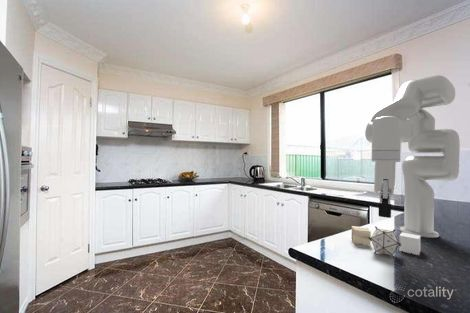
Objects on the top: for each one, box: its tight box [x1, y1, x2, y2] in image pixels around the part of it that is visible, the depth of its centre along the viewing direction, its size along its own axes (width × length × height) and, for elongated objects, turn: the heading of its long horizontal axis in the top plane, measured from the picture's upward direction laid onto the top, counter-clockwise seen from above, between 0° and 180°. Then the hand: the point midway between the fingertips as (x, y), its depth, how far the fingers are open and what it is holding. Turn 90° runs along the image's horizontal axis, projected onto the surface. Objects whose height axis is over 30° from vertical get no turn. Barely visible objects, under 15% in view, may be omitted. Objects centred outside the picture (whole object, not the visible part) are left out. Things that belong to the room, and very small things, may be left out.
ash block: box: [351, 225, 372, 246], centre depth 82 cm, size 5×5×5 cm
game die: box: [368, 226, 401, 259], centre depth 71 cm, size 9×8×10 cm
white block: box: [398, 231, 422, 256], centre depth 75 cm, size 5×5×5 cm
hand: (384, 216), depth 72 cm, fingers closed
